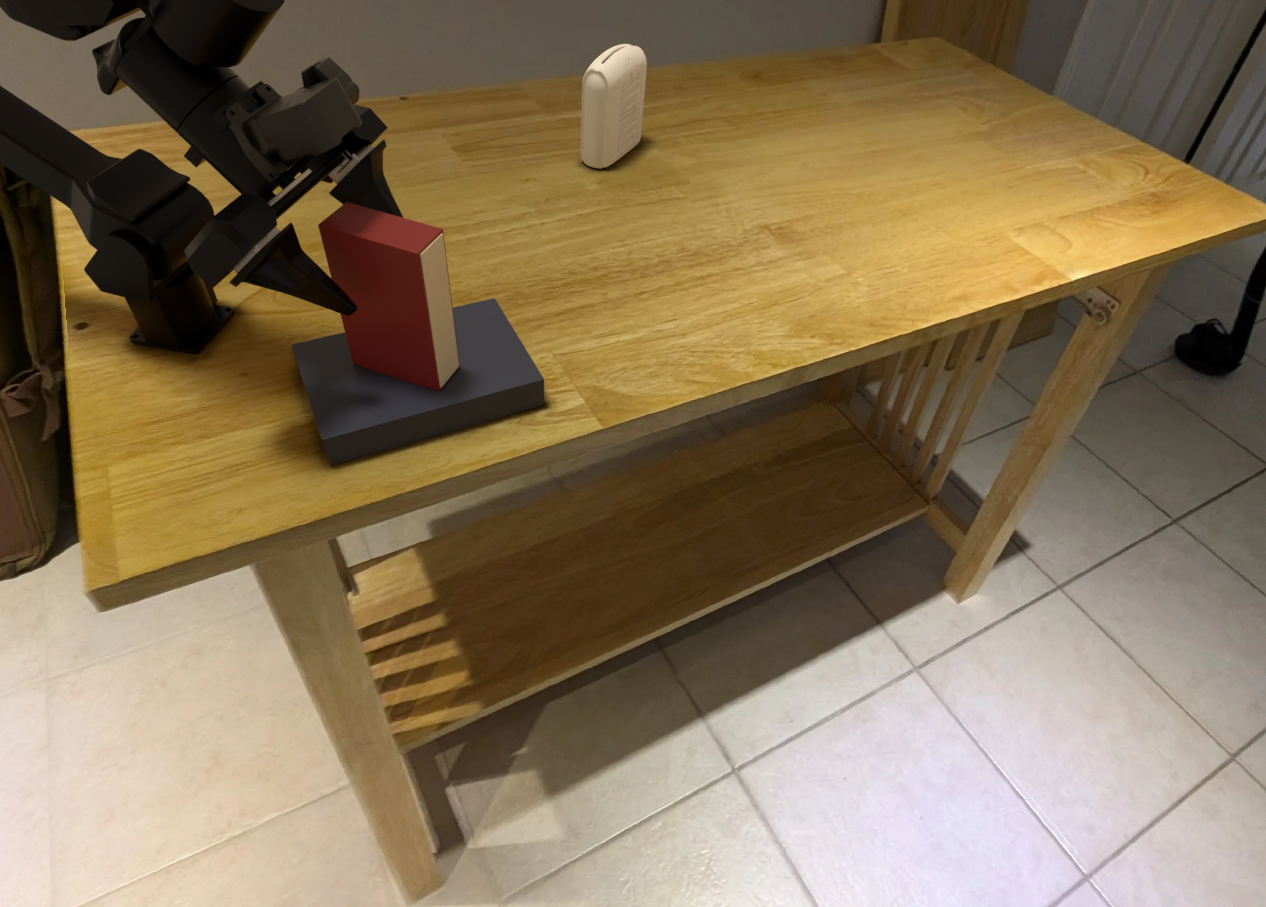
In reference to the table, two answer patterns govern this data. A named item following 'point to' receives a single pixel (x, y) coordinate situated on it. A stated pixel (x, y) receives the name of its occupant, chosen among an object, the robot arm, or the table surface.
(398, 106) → the table surface
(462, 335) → the dark gray flat block
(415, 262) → the small book
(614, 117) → the photo printer
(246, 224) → the robot arm
